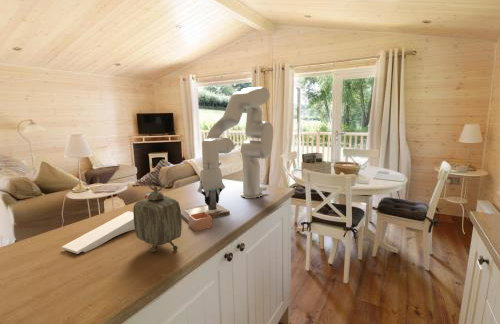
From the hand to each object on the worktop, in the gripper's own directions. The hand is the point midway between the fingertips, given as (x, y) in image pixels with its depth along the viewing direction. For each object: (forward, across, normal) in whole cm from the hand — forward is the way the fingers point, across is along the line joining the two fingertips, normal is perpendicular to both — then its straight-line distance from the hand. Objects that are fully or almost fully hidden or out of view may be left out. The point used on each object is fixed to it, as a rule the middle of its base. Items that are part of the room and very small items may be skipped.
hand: (212, 203), depth 131 cm
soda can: (+5, +26, -6) cm, 27 cm away
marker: (+3, 0, 0) cm, 3 cm away
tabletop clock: (+5, +32, +24) cm, 40 cm away
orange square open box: (+4, +12, +13) cm, 18 cm away
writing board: (+4, +5, 0) cm, 6 cm away
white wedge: (+5, +45, +2) cm, 46 cm away
